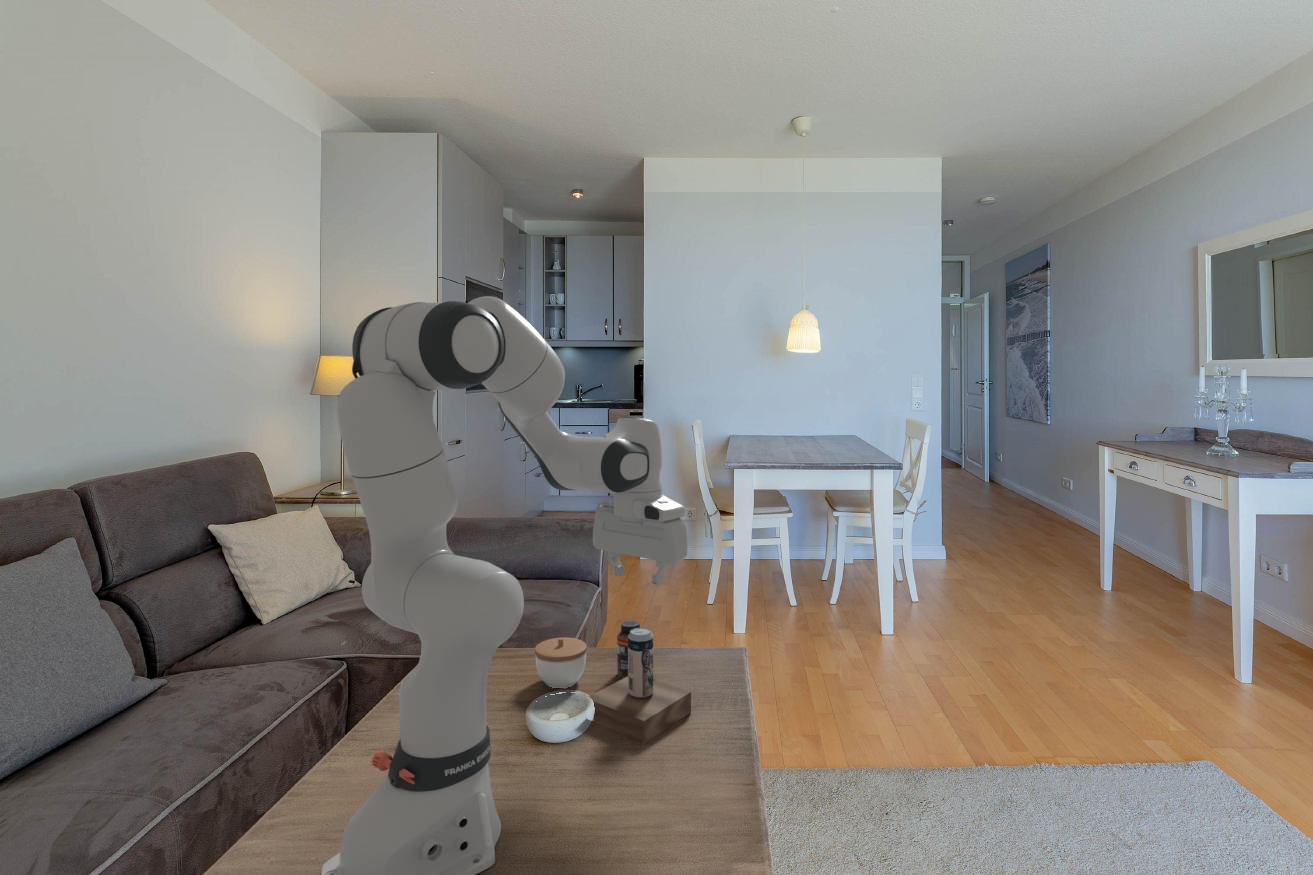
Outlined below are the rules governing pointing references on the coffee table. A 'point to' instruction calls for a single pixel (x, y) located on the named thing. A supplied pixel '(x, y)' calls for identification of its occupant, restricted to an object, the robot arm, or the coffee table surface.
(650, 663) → the beer can
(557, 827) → the coffee table surface
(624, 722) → the walnut block
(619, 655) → the supplement bottle
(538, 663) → the lidded jar
